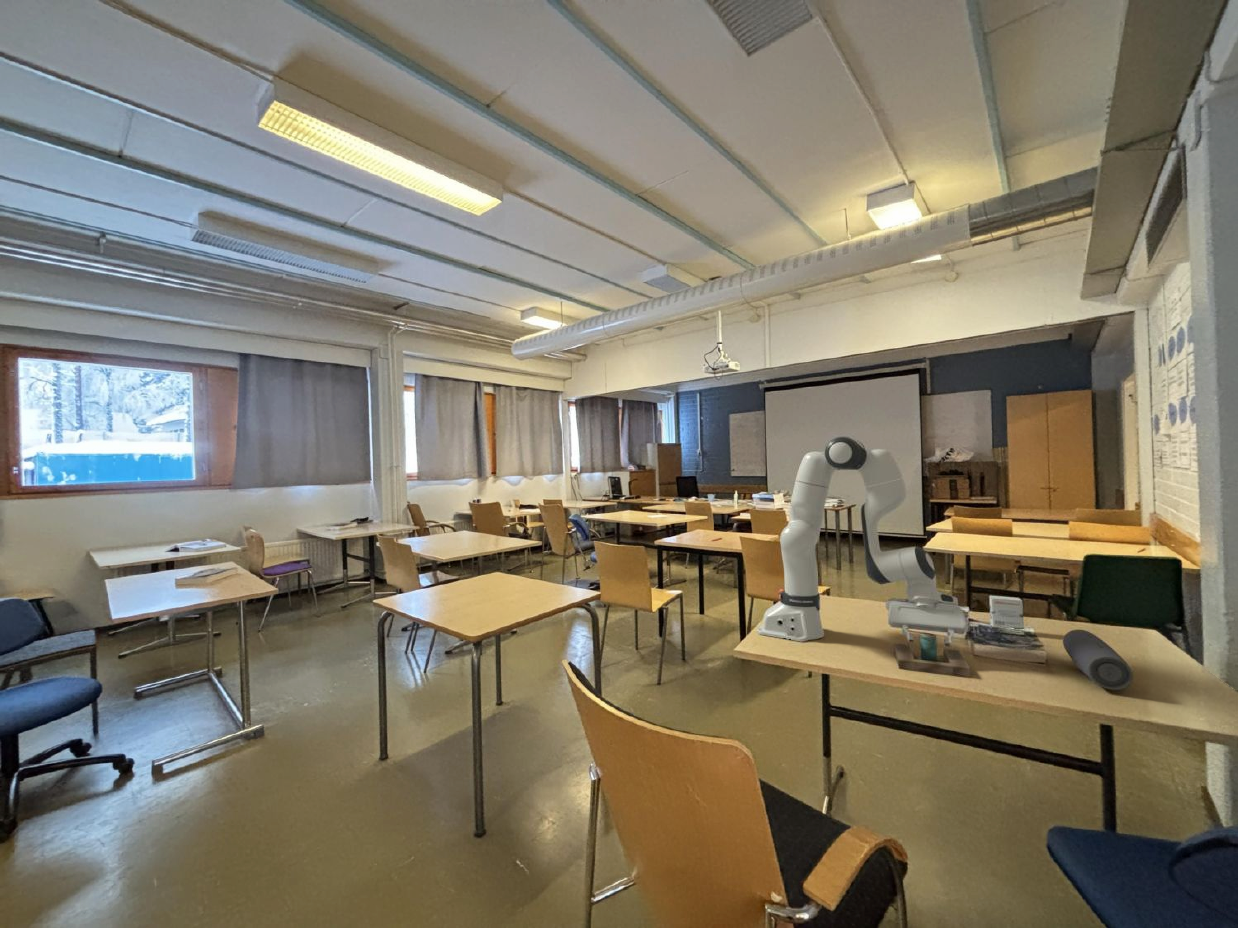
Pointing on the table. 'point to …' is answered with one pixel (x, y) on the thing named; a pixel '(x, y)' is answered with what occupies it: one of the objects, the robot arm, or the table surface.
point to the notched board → (951, 667)
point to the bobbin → (928, 647)
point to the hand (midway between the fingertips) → (929, 642)
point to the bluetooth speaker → (1097, 660)
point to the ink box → (1006, 612)
